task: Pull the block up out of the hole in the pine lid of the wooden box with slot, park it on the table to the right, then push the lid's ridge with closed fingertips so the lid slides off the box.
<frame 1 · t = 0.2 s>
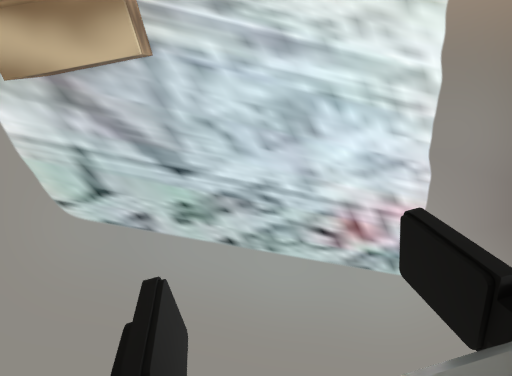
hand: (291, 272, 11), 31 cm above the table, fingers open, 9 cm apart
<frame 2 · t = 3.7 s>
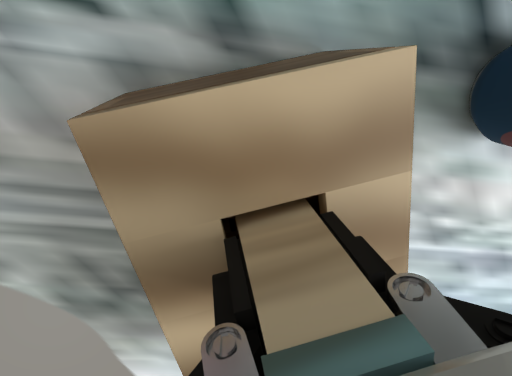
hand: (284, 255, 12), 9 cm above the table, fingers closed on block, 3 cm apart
block: (253, 185, 19), point 1 cm above the table, touching gripper, wooden box with slot
lid: (298, 321, 13), point 10 cm above the table, slide at 0.0 cm
soda can: (502, 90, 21), on the table
wooden box with slot: (258, 216, 22), on the table
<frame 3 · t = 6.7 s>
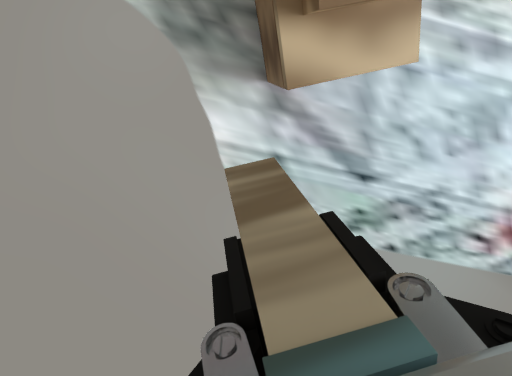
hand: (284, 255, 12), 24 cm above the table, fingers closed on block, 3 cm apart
block: (253, 185, 19), point 16 cm above the table, touching gripper
when the fingers open (8 cm above the table, at t = 9.6 s): block stays where it is, on the table.
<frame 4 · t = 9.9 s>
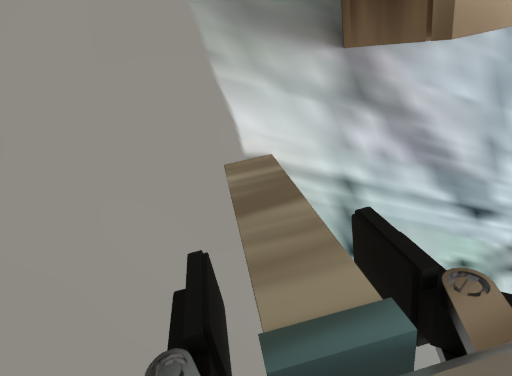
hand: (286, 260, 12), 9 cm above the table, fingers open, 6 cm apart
block: (252, 181, 20), on the table
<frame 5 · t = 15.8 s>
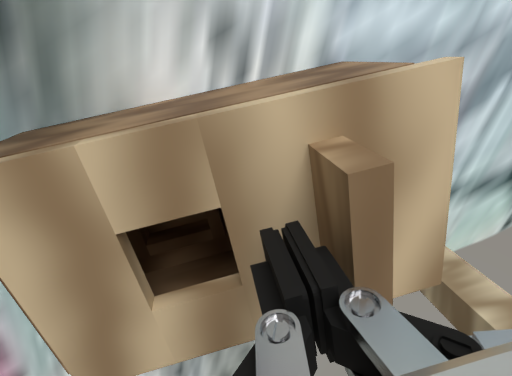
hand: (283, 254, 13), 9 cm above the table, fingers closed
block: (425, 262, 28), on the table
lid: (254, 261, 12), point 10 cm above the table, slide at 1.2 cm, touching gripper
wooden box with slot: (213, 182, 21), on the table
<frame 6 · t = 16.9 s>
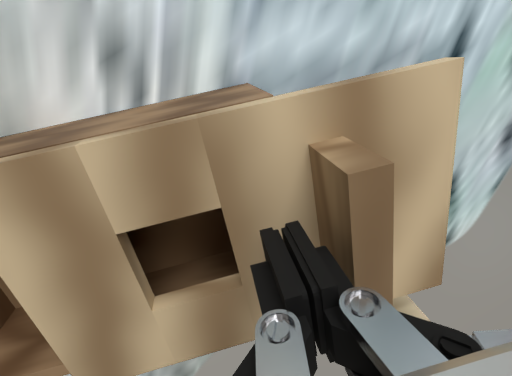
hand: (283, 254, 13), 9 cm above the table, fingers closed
block: (362, 281, 27), on the table
lid: (254, 261, 12), point 10 cm above the table, slide at 7.6 cm, touching gripper
wooden box with slot: (123, 205, 20), on the table
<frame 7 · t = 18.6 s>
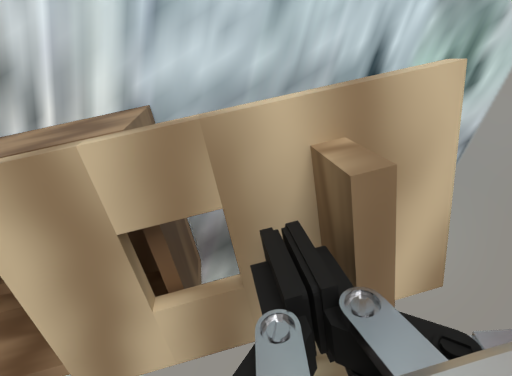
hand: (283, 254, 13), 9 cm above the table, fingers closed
block: (297, 301, 27), on the table
lid: (256, 263, 12), point 10 cm above the table, slide at 13.8 cm, touching gripper
wooden box with slot: (29, 228, 20), on the table
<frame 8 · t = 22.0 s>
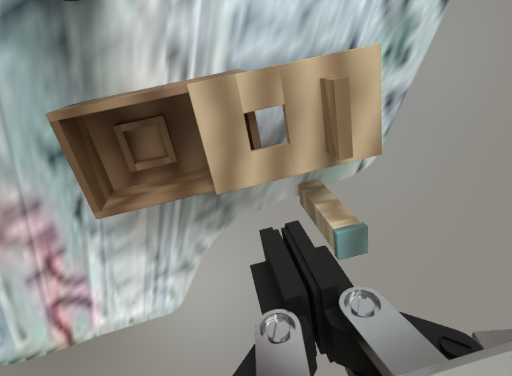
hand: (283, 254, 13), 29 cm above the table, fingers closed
block: (309, 191, 45), on the table
lid: (298, 125, 31), point 10 cm above the table, slide at 13.8 cm
wooden box with slot: (172, 134, 38), on the table
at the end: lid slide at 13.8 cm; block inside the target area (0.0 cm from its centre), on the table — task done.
